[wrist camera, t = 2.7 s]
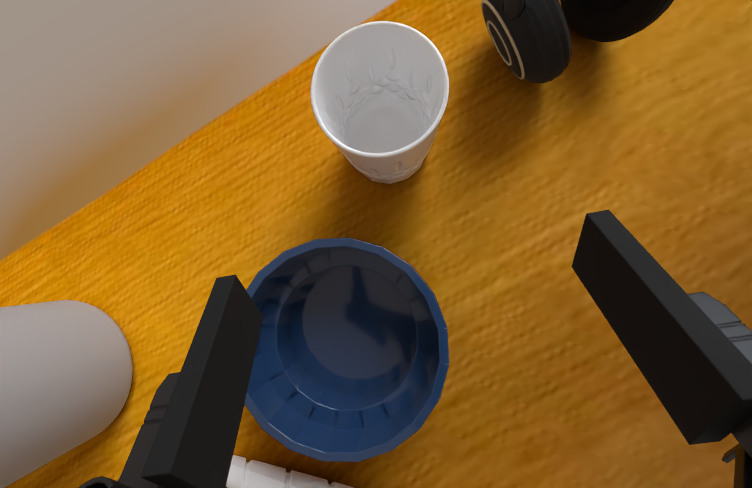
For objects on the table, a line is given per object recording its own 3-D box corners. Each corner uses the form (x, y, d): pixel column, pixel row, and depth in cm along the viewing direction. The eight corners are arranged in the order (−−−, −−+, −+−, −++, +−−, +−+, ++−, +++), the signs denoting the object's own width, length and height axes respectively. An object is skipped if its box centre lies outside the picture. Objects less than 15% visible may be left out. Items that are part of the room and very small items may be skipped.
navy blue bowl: (472, 304, 29) (493, 319, 22) (377, 448, 29) (367, 508, 22) (330, 211, 30) (306, 196, 23) (240, 348, 30) (190, 375, 23)
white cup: (452, 162, 29) (475, 112, 19) (369, 207, 30) (350, 182, 20) (407, 82, 30) (406, -6, 20) (326, 128, 30) (286, 65, 20)
